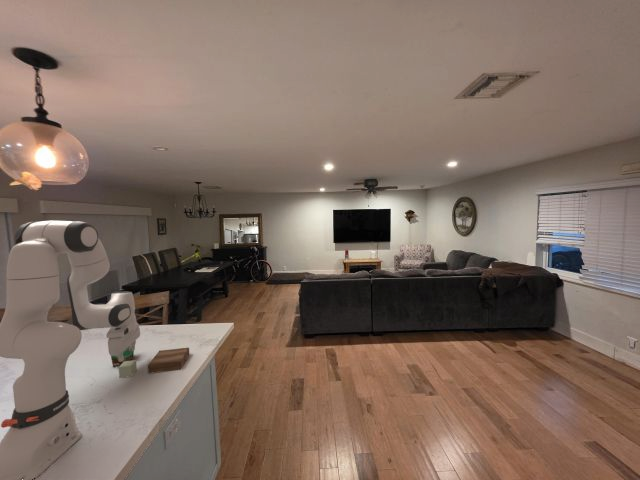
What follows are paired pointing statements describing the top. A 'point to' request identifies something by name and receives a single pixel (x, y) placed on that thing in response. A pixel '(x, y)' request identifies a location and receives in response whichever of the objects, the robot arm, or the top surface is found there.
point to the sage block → (127, 368)
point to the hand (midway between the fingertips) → (127, 355)
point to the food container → (128, 357)
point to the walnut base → (168, 360)
